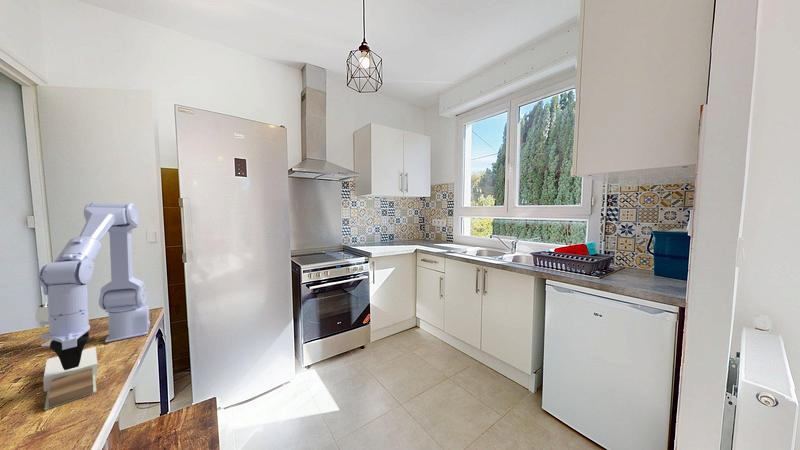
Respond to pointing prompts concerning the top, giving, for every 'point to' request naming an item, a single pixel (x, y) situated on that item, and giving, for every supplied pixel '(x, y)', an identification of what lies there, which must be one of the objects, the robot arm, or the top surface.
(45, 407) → the mat
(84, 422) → the top surface
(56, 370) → the tray
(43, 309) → the wineglass
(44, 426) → the top surface
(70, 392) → the tan cardboard slab
